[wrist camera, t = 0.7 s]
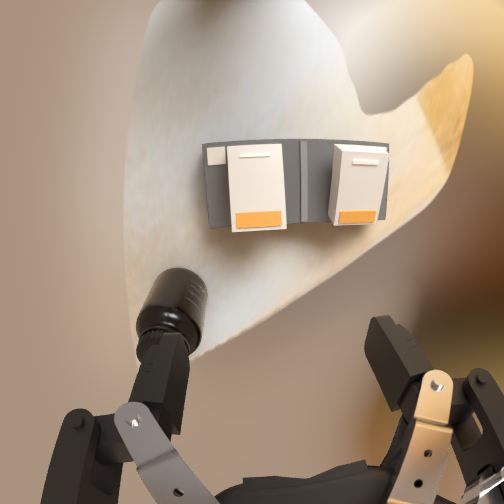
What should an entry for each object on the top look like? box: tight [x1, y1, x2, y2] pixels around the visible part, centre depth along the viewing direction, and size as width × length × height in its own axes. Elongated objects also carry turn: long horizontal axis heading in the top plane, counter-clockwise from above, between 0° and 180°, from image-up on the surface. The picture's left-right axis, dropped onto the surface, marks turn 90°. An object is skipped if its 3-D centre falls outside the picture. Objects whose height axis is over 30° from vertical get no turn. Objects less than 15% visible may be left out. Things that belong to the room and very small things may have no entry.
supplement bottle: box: [136, 268, 207, 362], centre depth 28 cm, size 7×7×12 cm
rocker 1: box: [227, 144, 287, 232], centre depth 23 cm, size 7×4×2 cm, turn 3°
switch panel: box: [202, 139, 389, 228], centre depth 26 cm, size 8×18×4 cm, turn 93°
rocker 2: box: [328, 144, 389, 226], centre depth 23 cm, size 7×4×2 cm, turn 3°
